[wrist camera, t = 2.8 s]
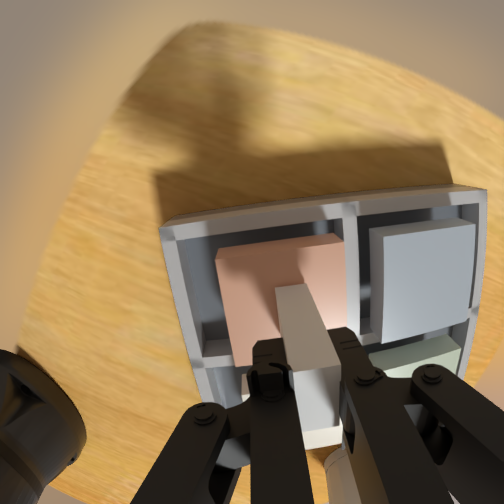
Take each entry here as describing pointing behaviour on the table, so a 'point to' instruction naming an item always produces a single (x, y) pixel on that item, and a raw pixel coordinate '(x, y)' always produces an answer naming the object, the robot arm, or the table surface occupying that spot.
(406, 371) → the key sage
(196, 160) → the table surface
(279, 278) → the key terracotta
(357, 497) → the cup
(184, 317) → the keypad base
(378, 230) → the key slate
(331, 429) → the key cream
